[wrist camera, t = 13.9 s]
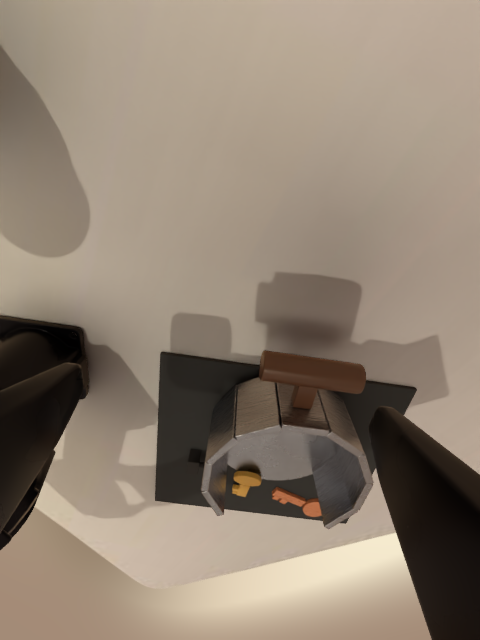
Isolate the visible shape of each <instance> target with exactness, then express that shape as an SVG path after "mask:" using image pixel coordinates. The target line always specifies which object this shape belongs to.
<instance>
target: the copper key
mask: <svg viewBox="0 0 480 640" xmlns="http://www.w3.org/2000/svg"><path fill="white" fill-rule="evenodd" d="M272 499H274V500H278V499H279V502H280V503H282V504H286V503H287V502H290V503H293V504H295V505H297V506H300V507H301V506H302V508H303V512H304V514H306V515H307V516H310V517H318V516H322V514H321V509H320V505H319V500H318V498H312V499H308V500H305V498H303V497H300V496H298V495H296V494H293V493H291V492H289V491H286V490H284V489H281V488H279V487H276V488H275V489H274V490H273V491H272Z"/></svg>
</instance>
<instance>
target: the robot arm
mask: <svg viewBox="0 0 480 640" xmlns="http://www.w3.org/2000/svg"><path fill="white" fill-rule="evenodd" d="M72 332H74V333H75V334H76V335H77V336H76V335H74V334H73V333H72ZM88 383H89V373H88V362H87V356H86V355H85V351H84V341H83V333H82V331H81V329H79V328H78V327H74V326H67V325H60V324H53V323H46V322H39V321H32V320H25V319H18V318H11V317H4V316H0V550H1V549H2V548H3V547H4V546H6V545H7V544H8V543H9V542H10V540H11V538H12V537H13V536H14V535H15V534H16V533H17V532H18V531H19V529H20V528H21V527H22V525H23V524H24V523H25V522H26V520H27V518H28V517H29V515H30V513H31V512H32V510H33V508H34V506H35V504H36V501H37V498H38V496H39V493H40V491H41V488H42V486H43V483H44V481H45V478H46V475H47V473H48V470H49V468H50V465H51V463H52V460H53V457H54V455H55V451H54V448H55V446H56V445H57V443H58V441H59V439H60V438H61V436H62V434H63V432H64V430H65V428H66V426H67V424H68V422H69V420H70V418H71V416H72V414H73V412H74V410H75V408H76V406H77V404H78V402H79V399H84V398H85V397H86V396H87V394H88ZM368 433H369V437H370V442H371V446H372V451H373V455H374V460H375V464H376V469H377V473H378V477H379V481H380V485H381V488H382V491H383V494H384V497H385V500H386V503H387V506H388V509H389V512H390V515H391V518H392V521H393V524H394V527H395V530H396V533H397V536H398V539H399V542H400V545H401V548H402V551H403V554H404V557H405V560H406V563H407V566H408V569H409V572H410V575H411V578H412V581H413V584H414V587H415V590H416V593H417V596H418V599H419V602H420V605H421V608H422V611H423V614H424V617H425V620H426V623H427V626H428V629H429V632H430V635H431V638H432V640H480V475H479V474H478V473H477V472H476V471H474V470H473V469H472V468H470V467H469V466H468V465H467V464H465V463H464V462H463V461H461V460H460V459H459V458H457V457H456V456H455V455H454V454H452V453H451V452H450V451H448V450H447V449H446V448H445V447H443V446H442V445H441V444H439V443H438V442H437V441H435V440H434V439H433V438H432V437H430V436H429V435H428V434H426V433H425V432H424V431H423V430H421V429H420V428H419V427H417V426H416V425H415V424H414V423H412V422H411V421H410V420H408V419H407V418H406V417H405V416H403V415H402V414H401V413H399V412H398V411H397V410H395V409H394V408H392V407H385V406H379V407H378V408H377V409H376V411H375V413H374V415H373V417H372V420H371V422H370V424H369V427H368Z"/></svg>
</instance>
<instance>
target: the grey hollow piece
mask: <svg viewBox="0 0 480 640" xmlns="http://www.w3.org/2000/svg"><path fill="white" fill-rule="evenodd" d="M365 383H366V372H365V369H364V367H363V366H362V365H361V364H356V363H349V362H342V361H335V360H328V359H321V358H314V357H307V356H300V355H293V354H286V353H279V352H272V351H266V350H265V351H263V353H262V356H261V361H260V368H259V377H258V378H255V379H251V380H248V381H244V382H241V383H238V385H235V386H234V387H233V388H232V389H231V390H230V391H229V392H228V393H227V394H226V395H225V396H224V397H223V398H222V399H221V400H220V401H219V402H218V403H217V404H216V405H215V406H214V408H213V412H212V419H211V425H210V432H209V438H208V445H207V451H206V458H205V465H204V472H203V479H202V486H201V491H202V494H203V496H204V497H205V498H206V500H207V501H208V503H209V504H210V506H211V507H212V509H213V510H214V511H215V513H216V514H217V516H220V515H223V514H224V502H225V489H226V475H227V464H228V465H229V466H231V467H232V468H234V469H235V470H237V471H249V472H253V473H256V474H258V475H259V476H260V477H261V479H265V480H291V479H297V478H301V477H305V476H308V475H311V474H313V476H314V481H315V486H316V490H317V495H318V500H319V505H320V509H321V514H322V519H323V524H324V527H326V528H328V529H330V528H331V527H333V526H335V525H336V524H338V523H340V522H341V521H343V520H345V519H347V518H348V517H350V516H352V515H353V514H355V513H357V512H358V510H360V508H361V506H362V505H363V503H364V501H365V499H366V497H367V495H368V494H369V492H370V490H371V488H372V486H373V479H372V475H371V472H370V469H369V465H368V462H367V459H366V455H365V453H364V450H363V448H362V445H361V443H360V440H359V438H358V436H357V433H356V431H355V428H354V426H353V423H352V421H351V418H350V416H349V414H348V411H347V409H346V406H345V404H344V401H343V399H342V398H341V397H340V396H338V395H337V394H335V393H334V392H333V391H339V392H346V393H353V394H360V393H361V392H362V391H363V389H364V387H365Z"/></svg>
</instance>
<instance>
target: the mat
mask: <svg viewBox="0 0 480 640" xmlns="http://www.w3.org/2000/svg"><path fill="white" fill-rule="evenodd" d="M259 368H260V366H258V365H251V364H244V363H237V362H230V361H222V360H215V359H208V358H201V357H194V356H187V355H180V354H173V353H166V352H161V354H160V381H159V409H158V436H157V463H156V491H155V501H162V502H170V503H178V504H187V505H195V506H203V507H211V506H210V504H209V503H208V501H207V500H206V498H205V497H204V496H203V494H202V491H201V486H202V479H203V472H204V465H205V458H206V451H207V445H208V438H209V432H210V425H211V419H212V412H213V408H214V406H215V405H216V404H217V403H218V402H219V401H220V400H221V399H222V398H223V397H224V396H225V395H226V394H227V393H228V392H229V391H230V390H231V389H232V388H233V387H234V386H235V385H238V383H241V382H244V381H248V380H251V379H255V378H258V377H259ZM416 391H417V389H416V388H414V387H407V386H399V385H392V384H385V383H378V382H371V381H366V383H365V387H364V389H363V391H362V392H361V393H360V394H353V393H346V392H339V391H333V392H334V393H335V394H337V395H338V396H340V397H341V398H342V399H343V401H344V404H345V406H346V409H347V411H348V414H349V416H350V418H351V421H352V423H353V426H354V428H355V431H356V433H357V436H358V438H359V440H360V443H361V445H362V448H363V450H364V453H365V455H366V459H367V462H368V465H369V469H370V472H371V475H372V474H373V472H374V470H375V468H376V464H375V460H374V455H373V451H372V446H371V442H370V437H369V433H368V427H369V424H370V422H371V420H372V417H373V415H374V413H375V411H376V409H377V408H378V407H379V406H385V407H392V408H394V409H395V410H397V411H398V412H399V413H401V414H402V415H404V413H405V412H406V410H407V408H408V406H409V404H410V402H411V400H412V398H413V396H414V395H415V393H416ZM235 472H237V470H235V469H234V468H232V467H231V466H229V465H228V464H227V475H226V489H225V502H224V509H228V510H237V511H245V512H253V513H262V514H270V515H278V516H287V517H295V518H303V519H312V520H320V521H323V519H322V516H318V517H310V516H307V515H306V514H304V512H303V508H302V506H301V507H300V506H297V505H295V504H293V503H290V502H287V503H286V504H282V503H280V502H279V499H278V500H274V499H272V491H273V490H274V489H275V488H276V487H279V488H281V489H284V490H286V491H289V492H291V493H293V494H296V495H298V496H300V497H303V498H305V500H308V499H312V498H318V495H317V490H316V486H315V481H314V476H313V474H311V475H308V476H305V477H301V478H297V479H291V480H265V479H261V484H260V485H259V486H250V488H249V490H248V492H247V494H246V497H242V496H238V495H236V494H233V493H232V487H233V484H235V485H239V483H237V482H236V481H234V479H233V478H234V473H235ZM348 519H349V517H348V518H347V519H345V520H343V521H341V522H340V523H345V524H346V523H347V521H348Z"/></svg>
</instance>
